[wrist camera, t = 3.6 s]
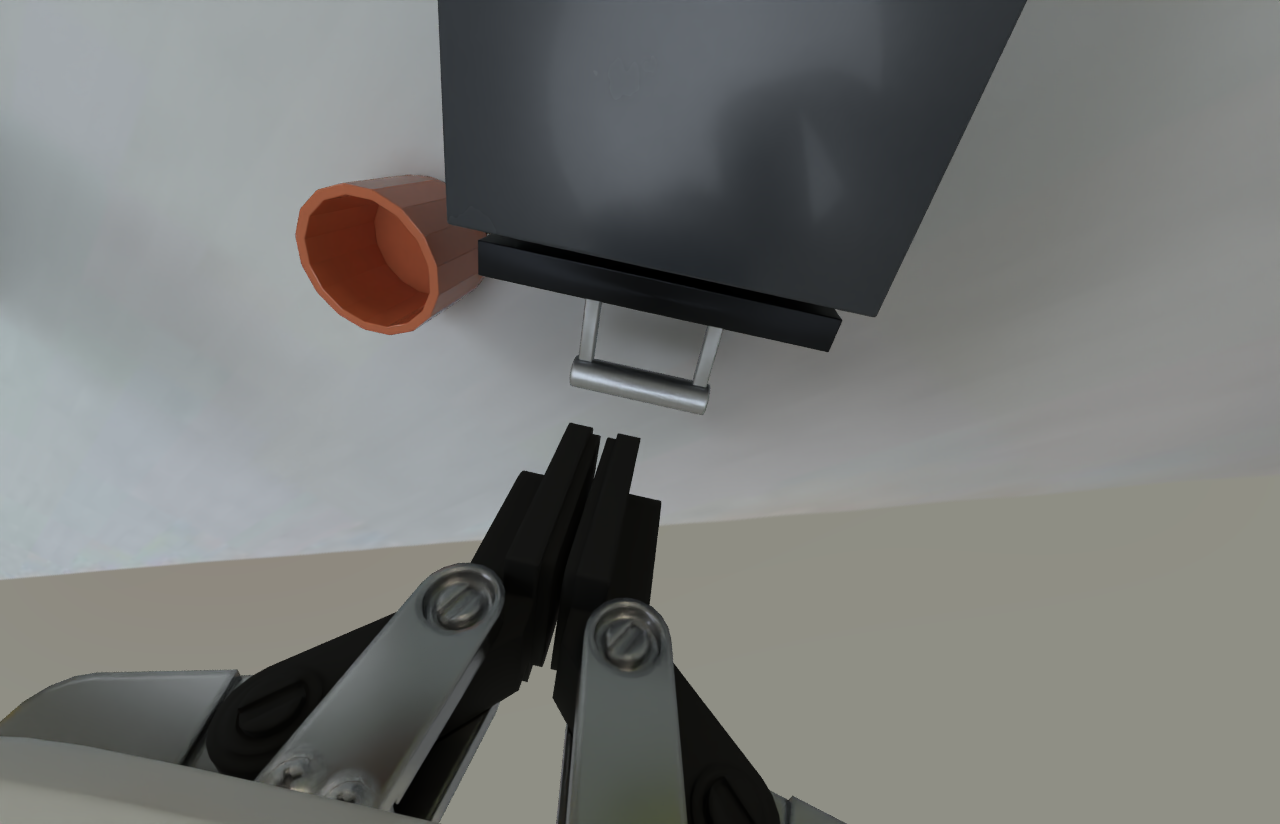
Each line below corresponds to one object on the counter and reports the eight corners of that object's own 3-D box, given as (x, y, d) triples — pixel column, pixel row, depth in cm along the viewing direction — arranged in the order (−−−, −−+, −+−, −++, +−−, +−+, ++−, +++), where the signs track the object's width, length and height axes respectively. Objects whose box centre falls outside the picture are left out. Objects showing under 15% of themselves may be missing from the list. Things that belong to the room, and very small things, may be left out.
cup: (490, 189, 22) (433, 202, 17) (489, 309, 25) (441, 347, 20) (367, 162, 22) (280, 169, 17) (382, 286, 25) (312, 318, 21)
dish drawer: (763, 384, 24) (780, 463, 18) (533, 333, 24) (478, 395, 18) (968, -170, 14) (1154, -390, 8) (569, -250, 14) (470, -520, 8)
